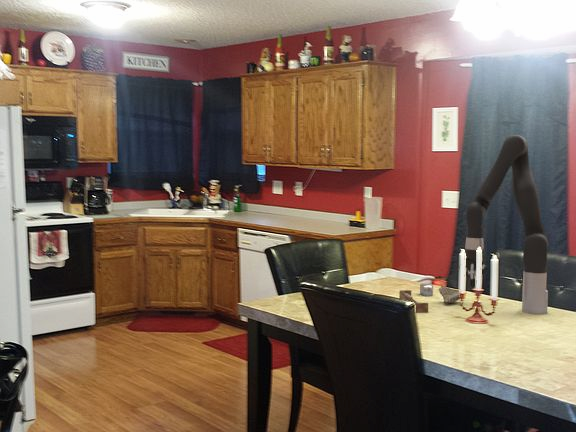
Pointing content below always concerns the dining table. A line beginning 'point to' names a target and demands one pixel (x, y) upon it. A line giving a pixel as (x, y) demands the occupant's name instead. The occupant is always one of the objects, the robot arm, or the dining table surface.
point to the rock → (449, 294)
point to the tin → (426, 290)
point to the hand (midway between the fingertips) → (472, 287)
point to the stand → (407, 296)
